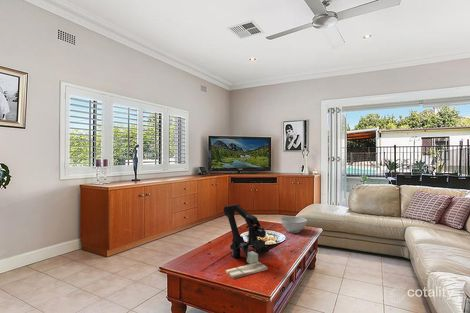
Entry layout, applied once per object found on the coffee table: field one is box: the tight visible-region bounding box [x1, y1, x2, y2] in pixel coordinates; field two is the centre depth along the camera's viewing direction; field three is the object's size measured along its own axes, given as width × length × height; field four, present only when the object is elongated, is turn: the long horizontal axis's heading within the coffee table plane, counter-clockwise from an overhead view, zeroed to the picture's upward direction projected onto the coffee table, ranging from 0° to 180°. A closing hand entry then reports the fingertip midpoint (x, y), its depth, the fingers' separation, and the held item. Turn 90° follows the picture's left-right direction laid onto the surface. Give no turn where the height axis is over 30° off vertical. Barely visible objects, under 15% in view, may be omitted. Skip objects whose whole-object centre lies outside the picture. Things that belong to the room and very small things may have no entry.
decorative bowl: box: [280, 215, 308, 234], centre depth 266 cm, size 27×27×12 cm
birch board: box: [225, 261, 269, 280], centre depth 174 cm, size 10×27×2 cm, turn 120°
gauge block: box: [246, 250, 259, 265], centre depth 188 cm, size 10×5×7 cm, turn 30°
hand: (252, 256), depth 187 cm, fingers open, 9 cm apart
